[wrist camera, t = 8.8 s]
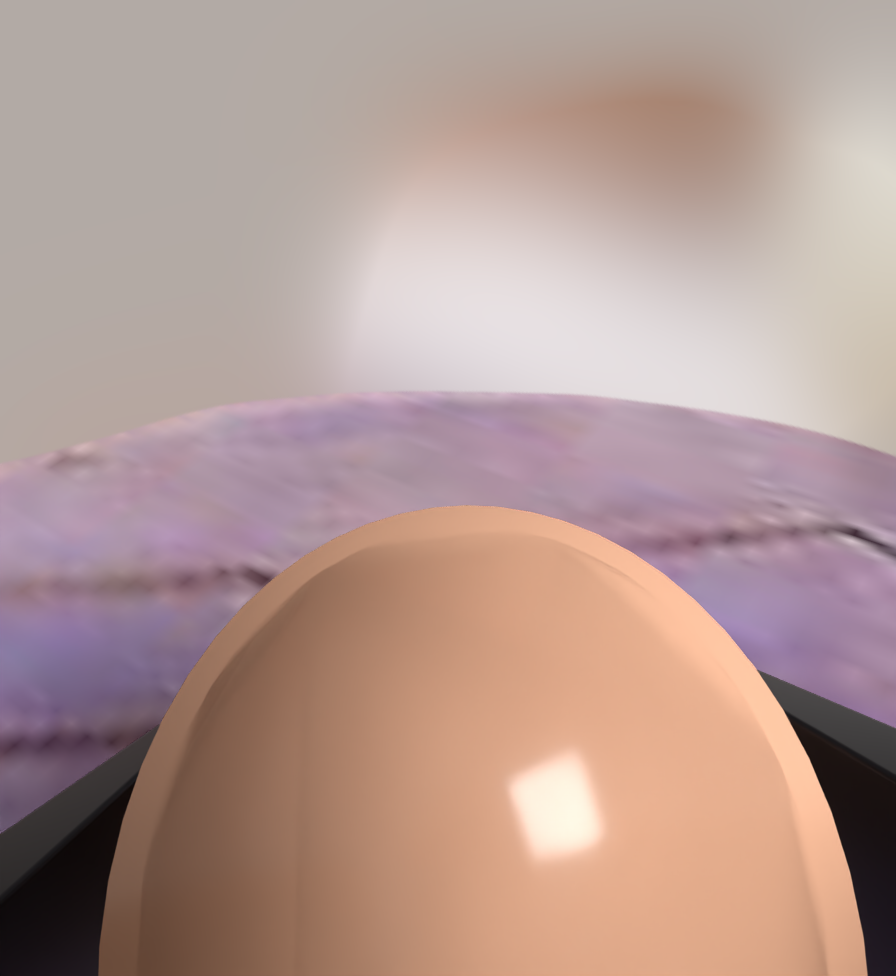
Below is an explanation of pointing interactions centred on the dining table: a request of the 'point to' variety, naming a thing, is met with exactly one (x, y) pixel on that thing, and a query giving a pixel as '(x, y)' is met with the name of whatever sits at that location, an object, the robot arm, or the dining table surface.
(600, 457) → the dining table surface
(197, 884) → the peach domed cylinder
